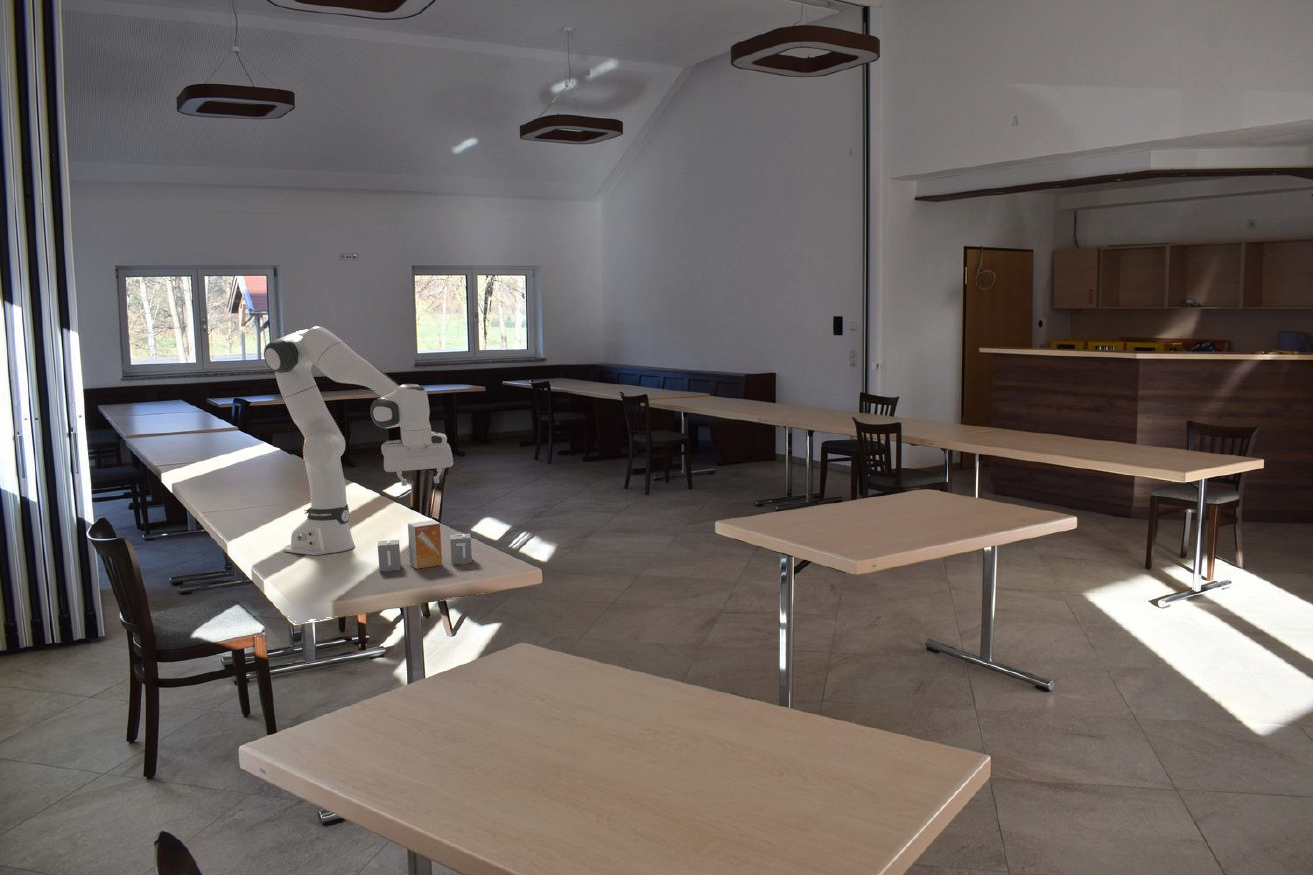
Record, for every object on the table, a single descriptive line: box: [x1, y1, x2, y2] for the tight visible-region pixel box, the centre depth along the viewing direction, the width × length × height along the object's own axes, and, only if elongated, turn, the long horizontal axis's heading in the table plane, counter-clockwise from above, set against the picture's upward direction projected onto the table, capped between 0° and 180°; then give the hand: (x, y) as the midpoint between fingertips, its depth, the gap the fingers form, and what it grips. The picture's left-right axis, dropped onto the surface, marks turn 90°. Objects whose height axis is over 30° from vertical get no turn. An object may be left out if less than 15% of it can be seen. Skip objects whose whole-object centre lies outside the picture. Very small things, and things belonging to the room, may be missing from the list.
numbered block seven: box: [449, 533, 473, 565], centre depth 296 cm, size 6×6×8 cm
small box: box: [407, 519, 443, 570], centre depth 294 cm, size 8×6×13 cm
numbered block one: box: [377, 539, 402, 573], centre depth 291 cm, size 6×6×8 cm
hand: (420, 484), depth 292 cm, fingers open, 8 cm apart
